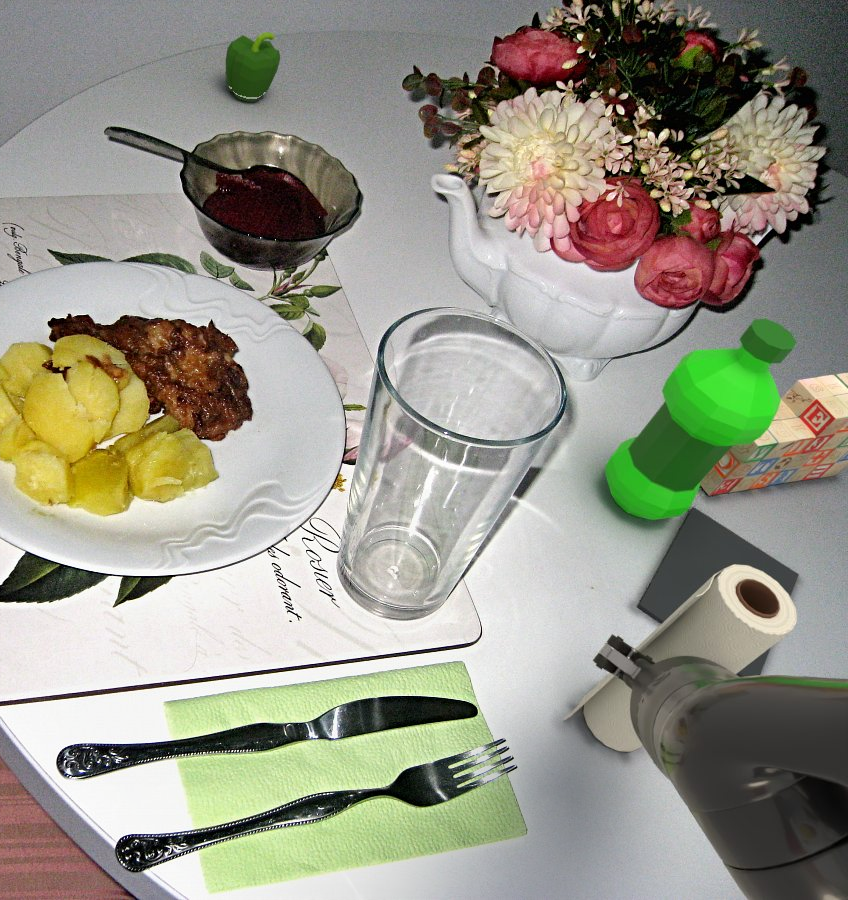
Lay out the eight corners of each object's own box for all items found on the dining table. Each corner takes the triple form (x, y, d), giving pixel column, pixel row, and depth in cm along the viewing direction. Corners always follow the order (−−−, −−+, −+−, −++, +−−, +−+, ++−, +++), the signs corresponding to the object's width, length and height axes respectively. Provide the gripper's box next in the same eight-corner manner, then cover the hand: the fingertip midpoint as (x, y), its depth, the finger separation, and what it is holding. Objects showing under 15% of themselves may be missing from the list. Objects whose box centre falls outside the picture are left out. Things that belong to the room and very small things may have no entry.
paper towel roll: (651, 714, 82) (803, 590, 67) (636, 767, 79) (794, 649, 63) (579, 671, 84) (712, 540, 68) (561, 720, 80) (697, 594, 64)
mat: (796, 576, 98) (799, 574, 98) (753, 687, 87) (756, 684, 86) (690, 509, 102) (693, 506, 101) (636, 607, 91) (639, 604, 90)
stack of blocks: (708, 498, 103) (775, 427, 94) (676, 457, 107) (738, 385, 98) (837, 475, 111) (911, 407, 102) (803, 437, 114) (871, 368, 105)
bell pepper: (219, 102, 141) (231, 39, 133) (220, 77, 146) (231, 15, 139) (271, 112, 142) (286, 50, 135) (270, 86, 148) (284, 26, 140)
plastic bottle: (642, 550, 96) (793, 386, 77) (572, 480, 101) (698, 310, 82) (695, 517, 101) (849, 357, 82) (626, 452, 106) (756, 286, 87)
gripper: (573, 704, 58) (560, 667, 74) (766, 846, 54) (707, 774, 70) (643, 611, 57) (614, 594, 74) (844, 748, 53) (766, 698, 70)
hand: (660, 683), depth 72 cm, fingers closed
